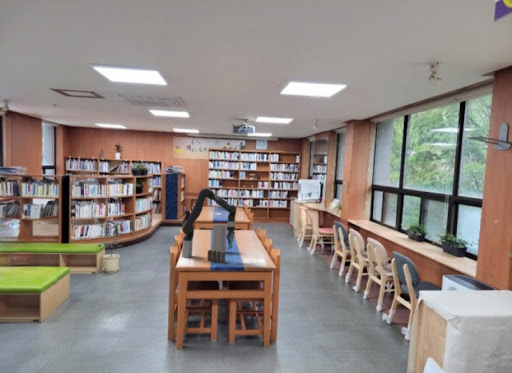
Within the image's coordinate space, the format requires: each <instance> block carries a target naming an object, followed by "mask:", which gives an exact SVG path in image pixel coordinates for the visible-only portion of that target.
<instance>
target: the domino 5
mask: <svg viewBox="0 0 512 373" xmlns="http://www.w3.org/2000/svg"><path fill="white" fill-rule="evenodd" d="M232 240H233V241H234V237H233V238H231V239H230V244H229V243H228V242H227V243H228V245H227V248H228V250H232V249H233V242H232Z"/></svg>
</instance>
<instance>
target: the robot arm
mask: <svg viewBox="0 0 512 373" xmlns="http://www.w3.org/2000/svg"><path fill="white" fill-rule="evenodd" d="M207 198H209V199H211V200H212V201H213V202H215V203H216V204H217V205H218V206H220V207H221V208H223V209H224V210H225V211H226V212H228V213H229V214H228V216H227V222H226V226H227V234H226V240H227V243H229V244H230V239H231V238H233V240H232V243H233V242H234V238H235V233H236V232H235V230H236V214H237V206H236V205H234V204H230V203H229V202H228V201H227V200H225V199H223V198H221V197H220V196H219V195H217V194H216V193H215V192H214V191H212V190H211V189H210V188H208V187H207V188H206V187H205V188H202V189H200V191H199V194H198V196H197V199H196V201H195V203H194V205H193V207H192V209H191V212H190V214H189V215H188V218H187V220H186V222H185V223H184V224H183V226H182V232H183V234H185V235H184V236H183V241H182V242H183V243H182V249H181V250H182V251H181V257H183V258H186V259H188V258H192V257H193V245H194V244H193V240H194V236H195V227H194V223H195V222H196V220H197V219H199V217H200V215H201V213H202V212H203V206H204V202H205V200H206V199H207Z"/></svg>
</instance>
